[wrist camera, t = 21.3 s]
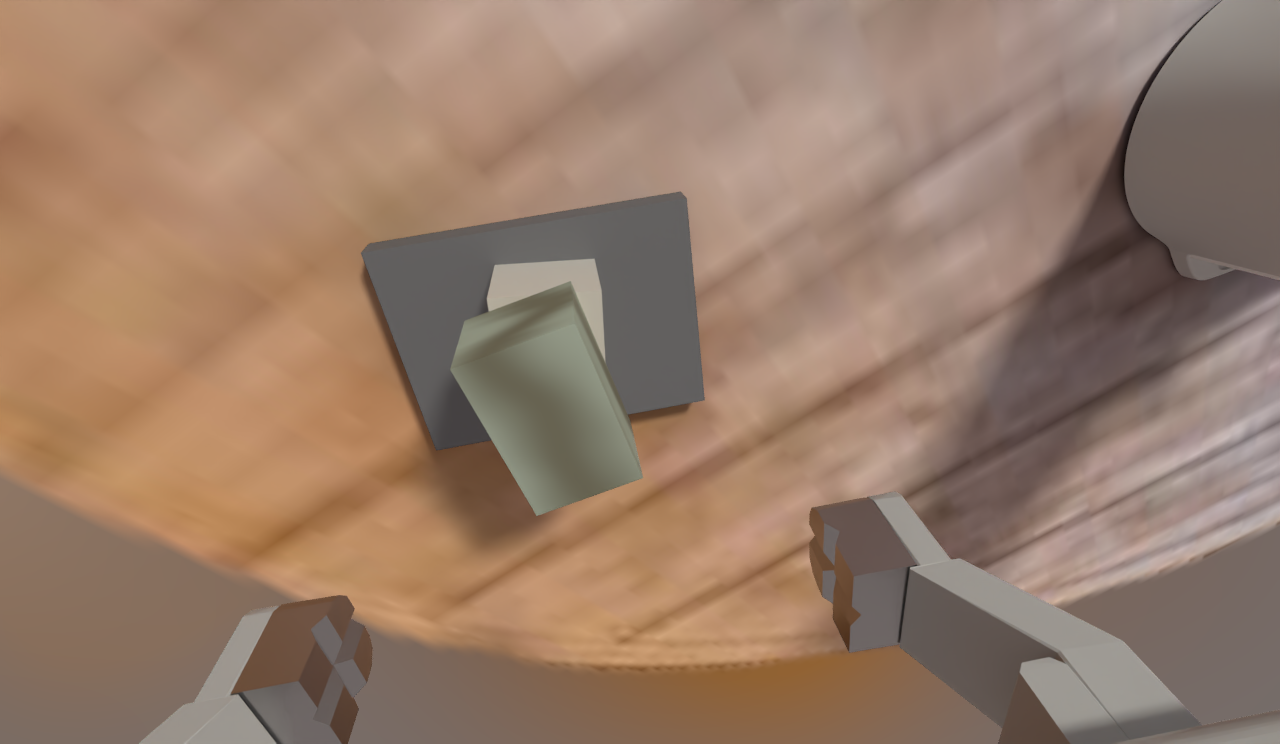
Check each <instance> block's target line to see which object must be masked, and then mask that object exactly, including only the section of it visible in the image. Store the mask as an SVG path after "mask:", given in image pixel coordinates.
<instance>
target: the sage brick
mask: <svg viewBox="0 0 1280 744" xmlns="http://www.w3.org/2000/svg"><path fill="white" fill-rule="evenodd" d="M450 370H451V372H452V374H453V375H454V377H455V379H456V380H457V382H458V384H459V385H460V387H461V389H462V391H463V392H464V394H465V396H466V397H467V399H468V401H469V402H470V404H471V406H472V407H473V409H474V411H475V412H476V414H477V416H478V418H479V419H480V421H481V423H482V424H483V426H484V428H485V429H486V431H487V433H488V434H489V436H490V438H491V440H492V441H493V443H494V445H495V446H496V448H497V450H498V451H499V453H500V455H501V456H502V458H503V460H504V461H505V463H506V465H507V467H508V468H509V470H510V472H511V473H512V475H513V477H514V478H515V480H516V482H517V483H518V485H519V487H520V489H521V490H522V492H523V494H524V495H525V497H526V499H527V500H528V502H529V504H530V505H531V507H532V509H533V510H534V512H535V514H536V516H538V515H541V514H544V513H546V512H549V511H552V510H555V509H558V508H560V507H563V506H566V505H569V504H572V503H574V502H577V501H580V500H583V499H586V498H588V497H591V496H594V495H597V494H600V493H602V492H605V491H608V490H611V489H614V488H616V487H619V486H622V485H625V484H628V483H630V482H633V481H636V480H639V479H642V478H643V476H642V471H641V467H640V462H639V458H638V453H637V449H636V444H635V440H634V435H633V431H632V426H631V422H630V419H629V417H628V414H627V412H626V410H625V407H624V405H623V403H622V400H621V398H620V396H619V393H618V391H617V389H616V386H615V384H614V382H613V379H612V377H611V374H610V372H609V370H608V367H607V365H606V363H605V360H604V358H603V356H602V353H601V351H600V349H599V346H598V344H597V342H596V339H595V337H594V335H593V332H592V330H591V327H590V325H589V323H588V320H587V318H586V316H585V313H584V311H583V309H582V306H581V304H580V302H579V299H578V297H577V295H576V292H575V290H574V288H573V285H572V283H571V281H569V282H567V283H564V284H561V285H559V286H556V287H553V288H551V289H548V290H545V291H543V292H540V293H537V294H535V295H532V296H529V297H527V298H524V299H521V300H519V301H516V302H513V303H510V304H508V305H505V306H502V307H500V308H497V309H494V310H492V311H489V312H486V313H484V314H481V315H478V316H476V317H473V318H470V319H468V320H465V321H464V325H463V328H462V331H461V335H460V338H459V341H458V345H457V348H456V351H455V355H454V358H453V362H452V365H451V368H450Z"/></svg>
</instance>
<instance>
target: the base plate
mask: <svg viewBox="0 0 1280 744" xmlns="http://www.w3.org/2000/svg"><path fill="white" fill-rule="evenodd" d="M361 254H362V257H363V260H364V262H365V265H366V268H367V270H368V273H369V275H370V278H371V281H372V283H373V286H374V288H375V291H376V294H377V296H378V299H379V302H380V304H381V307H382V309H383V312H384V315H385V317H386V320H387V323H388V325H389V328H390V330H391V333H392V336H393V338H394V341H395V344H396V346H397V349H398V351H399V354H400V357H401V359H402V362H403V365H404V367H405V370H406V372H407V375H408V378H409V380H410V383H411V386H412V388H413V391H414V393H415V396H416V399H417V401H418V404H419V406H420V409H421V412H422V414H423V417H424V420H425V422H426V425H427V427H428V430H429V433H430V435H431V438H432V441H433V443H434V446H435V448H436V450H442V449H447V448H452V447H458V446H463V445H468V444H474V443H479V442H484V441H490V440H491V438H490V436H489V434H488V433H487V431H486V429H485V428H484V426H483V424H482V423H481V421H480V419H479V418H478V416H477V414H476V412H475V411H474V409H473V407H472V406H471V404H470V402H469V401H468V399H467V397H466V396H465V394H464V392H463V391H462V389H461V387H460V385H459V384H458V382H457V380H456V379H455V377H454V375H453V374H452V372H451V370H450V368H451V365H452V362H453V358H454V355H455V351H456V348H457V345H458V341H459V338H460V335H461V331H462V328H463V325H464V321H465V320H468V319H470V318H473V317H476V316H478V315H481V314H484V313H486V312H489V310H488V304H487V295H488V291H489V287H490V283H491V278H492V274H493V270H494V266H495V265H502V264H518V263H534V262H550V261H565V260H581V259H595V263H596V268H597V272H598V277H599V281H600V286H601V290H602V307H603V325H604V344H605V362H606V365H607V367H608V370H609V372H610V374H611V377H612V379H613V382H614V384H615V386H616V389H617V391H618V393H619V396H620V398H621V400H622V403H623V405H624V407H625V410H626V412H627V414H634V413H639V412H644V411H650V410H655V409H660V408H666V407H671V406H676V405H682V404H687V403H692V402H698V401H703V400H705V399H704V388H703V376H702V365H701V354H700V343H699V332H698V320H697V309H696V298H695V287H694V276H693V264H692V253H691V242H690V231H689V220H688V208H687V198H686V197H685V196H684V195H683V194H682V193H681V192H676V193H670V194H664V195H658V196H652V197H646V198H640V199H634V200H628V201H622V202H616V203H610V204H604V205H598V206H592V207H586V208H580V209H574V210H568V211H562V212H556V213H550V214H544V215H538V216H532V217H526V218H520V219H514V220H508V221H502V222H496V223H490V224H484V225H478V226H472V227H466V228H460V229H454V230H448V231H442V232H436V233H430V234H424V235H418V236H412V237H406V238H400V239H394V240H388V241H382V242H376V243H370V244H368V245H367V247H366V248H365V249H364V250H363V251H362V252H361Z"/></svg>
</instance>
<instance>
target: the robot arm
mask: <svg viewBox="0 0 1280 744" xmlns="http://www.w3.org/2000/svg"><path fill="white" fill-rule="evenodd" d="M1124 181H1125V191H1126V196H1127V201H1128V204H1129V207H1130V209H1131V212H1132V214H1133V215H1134V217H1135V219H1136V220H1137V222H1138V223H1139V224H1140V225H1141V226H1142V227H1143V229H1144V230H1146V231H1147V232H1148V233H1149V234H1151V235H1152V236H1154V237H1156V238H1157V239H1159V240H1160V241H1162V242H1163V243H1164V244H1165V245H1166V246H1167V247H1168V248H1169V250H1170V253H1171V256H1172V259H1173V262H1174V265H1175V267H1176V269H1177V271H1178V272H1179V274H1180V275H1182V276H1184V277H1188V278H1192V279H1196V280H1208V279H1211V278H1214V277H1217V276H1219V275H1222V274H1225V273H1228V272H1230V271H1233V270H1236V269H1237V270H1241V271H1245V272H1249V273H1253V274H1257V275H1261V276H1264V277H1268V278H1272V279H1276V280H1280V0H1222V1H1221V2H1220V3H1219V4H1218V5H1216V6H1215V7H1214V8H1213V9H1212V10H1211V11H1210V12H1209V13H1208V14H1207V15H1206V16H1204V17H1203V18H1202V19H1201V20H1200V21H1199V22H1198V24H1197V25H1196V26H1195V27H1194V28H1193V29H1192V30H1191V31H1190V32H1189V33H1188V34H1187V36H1186V37H1185V38H1184V39H1183V40H1182V41H1181V43H1180V44H1179V45H1178V46H1177V48H1176V49H1175V50H1174V51H1173V53H1172V54H1171V56H1170V57H1169V58H1168V60H1167V61H1166V63H1165V64H1164V66H1163V67H1162V69H1161V70H1160V72H1159V73H1158V75H1157V77H1156V78H1155V80H1154V82H1153V83H1152V85H1151V87H1150V89H1149V91H1148V93H1147V94H1146V97H1145V99H1144V101H1143V103H1142V105H1141V107H1140V110H1139V112H1138V114H1137V117H1136V120H1135V123H1134V125H1133V128H1132V132H1131V135H1130V139H1129V143H1128V147H1127V152H1126V159H1125V171H1124ZM809 525H810V527H811V529H812V531H813V533H814V535H815V536H814V538H813V539H812V540H811V541H810V543H809V553H810V562H811V567H812V572H813V575H814V578H815V581H816V583H817V586H818V588H819V590H820V592H821V595H822V597H824V598H825V599H827V600H828V601H830V602H831V603H833V620H834V622H835V624H836V626H837V628H838V630H839V633H840V635H841V637H842V639H843V641H844V643H845V645H846V647H847V649H848V651H849V653H850V652H856V651H862V650H868V649H874V648H880V647H886V646H893V645H899V644H900V648H901V649H903V650H904V651H905V652H906V653H908V654H909V655H910V656H912V657H913V658H914V659H915V660H917V661H918V662H919V663H920V664H922V665H923V666H924V667H925V668H927V669H928V670H929V671H931V672H932V673H933V674H934V675H936V676H937V677H938V678H939V679H941V680H942V681H943V682H944V683H946V684H947V685H948V686H950V687H951V688H952V689H953V690H955V691H956V692H957V693H958V694H960V695H961V696H962V697H963V698H965V699H966V700H967V701H968V702H970V703H971V704H972V705H974V706H975V707H976V708H977V709H979V710H980V711H981V712H982V713H984V714H985V715H986V716H987V717H989V718H990V719H991V720H993V721H994V722H995V723H996V724H998V725H999V726H1000V727H1001V728H1002V732H1001V735H1000V739H999V742H998V744H1280V710H1276V711H1271V712H1266V713H1262V714H1256V715H1251V716H1246V717H1241V718H1236V719H1231V720H1226V721H1221V722H1216V723H1211V724H1207V725H1201V724H1200V722H1199V721H1198V720H1197V719H1196V718H1195V717H1194V716H1193V715H1192V714H1191V713H1190V712H1189V711H1188V710H1187V708H1186V707H1185V706H1184V705H1183V704H1182V703H1181V702H1180V701H1179V700H1178V699H1177V698H1176V697H1175V696H1174V695H1173V694H1172V693H1171V692H1170V691H1169V689H1168V688H1167V687H1166V686H1165V685H1164V684H1163V683H1162V682H1161V681H1160V680H1159V679H1158V678H1157V677H1156V676H1155V675H1154V674H1153V672H1152V671H1151V670H1150V669H1149V668H1148V667H1147V666H1146V665H1145V664H1144V663H1143V662H1142V661H1141V660H1140V659H1139V658H1138V657H1137V656H1136V654H1135V653H1134V652H1133V651H1132V650H1131V649H1130V648H1129V647H1128V646H1127V645H1126V644H1125V643H1124V642H1123V641H1122V640H1120V639H1118V638H1116V637H1114V636H1112V635H1110V634H1108V633H1106V632H1104V631H1102V630H1100V629H1098V628H1096V627H1094V626H1092V625H1090V624H1088V623H1087V622H1084V621H1082V620H1080V619H1079V618H1077V617H1075V616H1073V615H1071V614H1069V613H1067V612H1065V611H1063V610H1061V609H1059V608H1057V607H1055V606H1053V605H1051V604H1049V603H1047V602H1045V601H1043V600H1041V599H1039V598H1037V597H1035V596H1033V595H1031V594H1029V593H1027V592H1025V591H1023V590H1022V589H1020V588H1018V587H1016V586H1014V585H1012V584H1010V583H1008V582H1006V581H1004V580H1002V579H1000V578H998V577H996V576H994V575H992V574H990V573H988V572H986V571H984V570H982V569H980V568H978V567H976V566H974V565H972V564H970V563H968V562H966V561H964V560H962V559H960V558H959V559H952V560H951V559H950V557H949V556H948V555H947V554H946V552H945V551H944V550H943V548H942V547H941V546H940V544H939V543H938V542H937V541H936V539H935V538H934V537H933V535H932V534H931V533H930V531H929V530H928V529H927V528H926V526H925V525H924V524H923V522H922V521H921V520H920V519H919V517H918V516H917V515H916V513H915V512H914V511H913V509H912V508H911V507H910V506H909V504H908V503H907V502H906V500H905V499H904V498H903V496H902V495H901V494H899V493H897V492H896V491H895V492H890V493H885V494H879V495H874V496H869V497H867V498H859V499H854V500H849V501H844V502H839V503H833V504H828V505H823V506H818V507H813V508H811V511H810V518H809ZM354 609H355V608H354V607H353V605H352V603H351V602H350V600H349V599H348V597H347V596H342V595H337V596H331V597H325V598H318V599H312V600H306V601H300V602H293V603H287V604H282V605H279V606H272V607H265V608H259V609H253V610H251V611H250V612H249V613H247V614H246V615H245V616H243V618H242V620H241V621H240V623H239V625H238V626H237V628H236V630H235V632H234V633H233V635H232V637H231V639H230V640H229V642H228V644H227V645H226V647H225V649H224V651H223V653H222V654H221V656H220V658H219V659H218V661H217V663H216V665H215V666H214V668H213V670H212V672H211V673H210V675H209V677H208V679H207V680H206V682H205V684H204V686H203V687H202V689H201V691H200V693H199V694H198V696H197V698H196V700H195V701H194V703H189V704H184V705H183V706H182V707H181V708H179V709H178V710H177V711H176V712H175V713H174V714H172V715H171V716H170V717H169V718H168V719H167V720H165V721H164V722H163V723H162V724H161V725H160V726H159V727H157V728H156V729H155V730H154V731H153V732H152V733H150V734H149V735H148V736H147V737H146V738H145V739H144V740H142V741H141V742H140V743H139V744H348V741H349V738H350V735H351V732H352V728H353V725H354V722H355V719H356V716H357V713H358V710H359V708H358V706H357V704H356V702H355V700H354V696H355V695H356V694H357V693H358V692H359V691H360V690H361V688H362V687H363V686H364V685H365V684H366V683H367V681H368V677H369V674H370V670H371V666H372V644H371V640H370V635H369V634H368V632H367V630H366V628H365V626H364V625H362V624H360V623H358V622H356V621H354V620H352V619H351V617H352V615H353V612H354Z"/></svg>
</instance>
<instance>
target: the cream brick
mask: <svg viewBox="0 0 1280 744" xmlns="http://www.w3.org/2000/svg"><path fill="white" fill-rule="evenodd" d="M569 281H571V283H572V285H573V288H574V290H575V292H576V295H577V297H578V299H579V302H580V304H581V306H582V309H583V311H584V313H585V316H586V318H587V320H588V323H589V325H590V327H591V330H592V332H593V335H594V337H595V339H596V342H597V344H598V346H599V349H600V351H601V353H602V356H603V358H604V360H605V344H604V325H603V307H602V290H601V286H600V281H599V277H598V272H597V268H596V263H595V259H581V260H565V261H550V262H534V263H518V264H502V265H495V266H494V270H493V274H492V278H491V283H490V287H489V291H488V295H487V304H488V310H489V311H492V310H494V309H497V308H500V307H502V306H505V305H508V304H510V303H513V302H516V301H519V300H521V299H524V298H527V297H529V296H532V295H535V294H537V293H540V292H543V291H545V290H548V289H551V288H553V287H556V286H559V285H561V284H564V283H567V282H569ZM605 363H606V362H605Z"/></svg>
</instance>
